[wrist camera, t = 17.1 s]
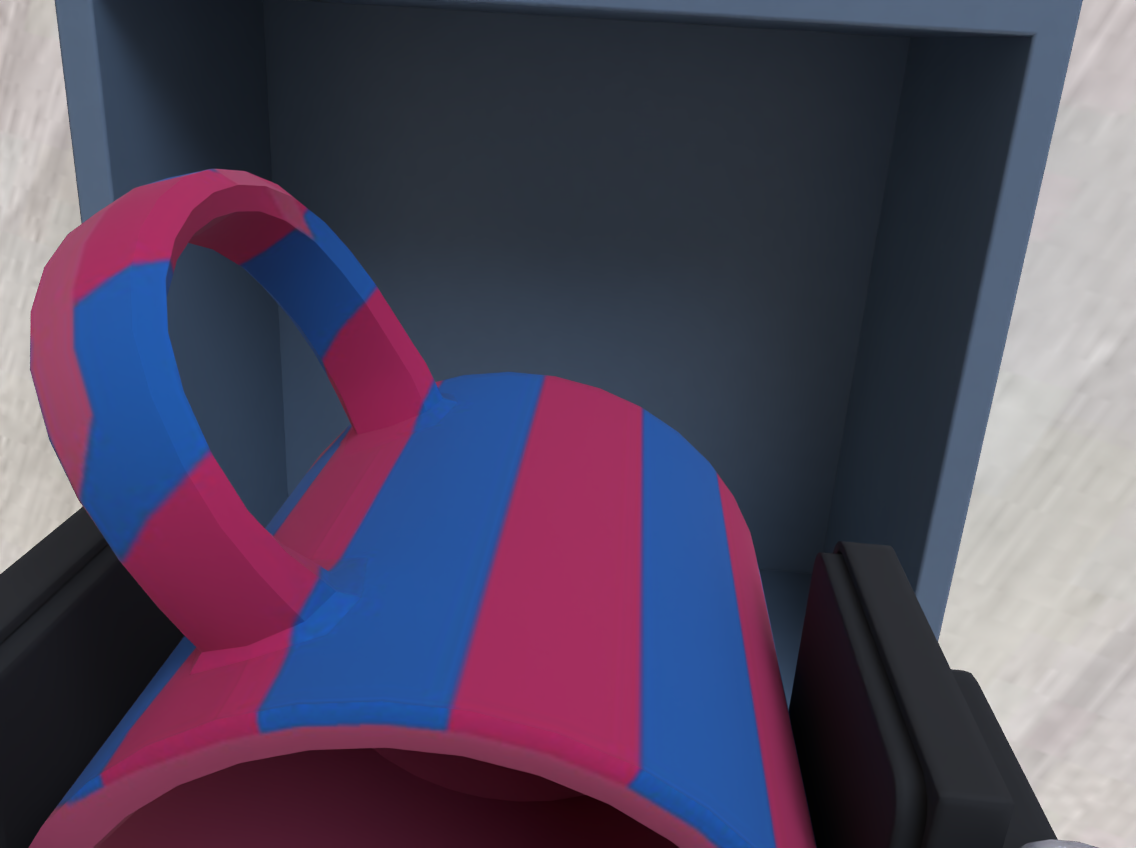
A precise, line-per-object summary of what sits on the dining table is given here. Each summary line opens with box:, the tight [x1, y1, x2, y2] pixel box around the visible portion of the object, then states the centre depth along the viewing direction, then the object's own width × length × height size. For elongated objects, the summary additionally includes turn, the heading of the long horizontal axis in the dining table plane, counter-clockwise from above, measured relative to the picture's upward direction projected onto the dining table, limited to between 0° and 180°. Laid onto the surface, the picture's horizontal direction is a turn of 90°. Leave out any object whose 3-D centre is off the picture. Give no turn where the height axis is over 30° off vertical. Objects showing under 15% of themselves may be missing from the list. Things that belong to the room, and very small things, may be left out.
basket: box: [55, 0, 1083, 710], centre depth 21 cm, size 8×14×15 cm
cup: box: [29, 168, 817, 848], centre depth 10 cm, size 7×10×7 cm
